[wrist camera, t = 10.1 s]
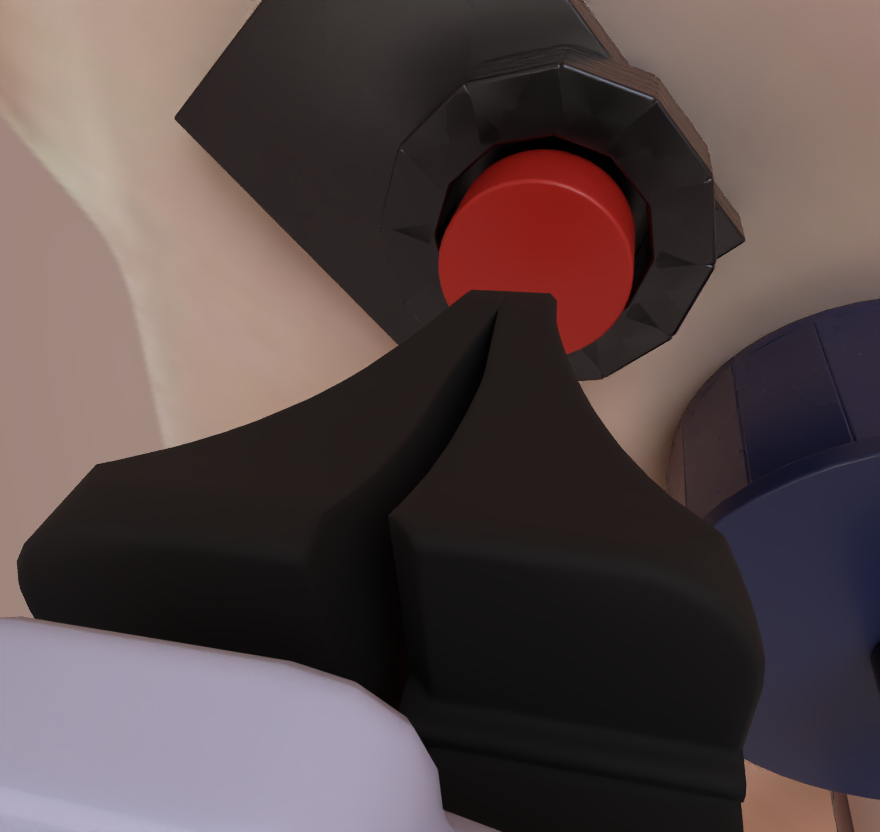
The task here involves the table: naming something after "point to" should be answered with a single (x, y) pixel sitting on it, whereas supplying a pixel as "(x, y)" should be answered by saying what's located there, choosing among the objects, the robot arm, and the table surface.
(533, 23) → the control block
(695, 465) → the pot
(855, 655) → the lid
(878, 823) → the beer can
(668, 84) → the table surface
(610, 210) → the button
